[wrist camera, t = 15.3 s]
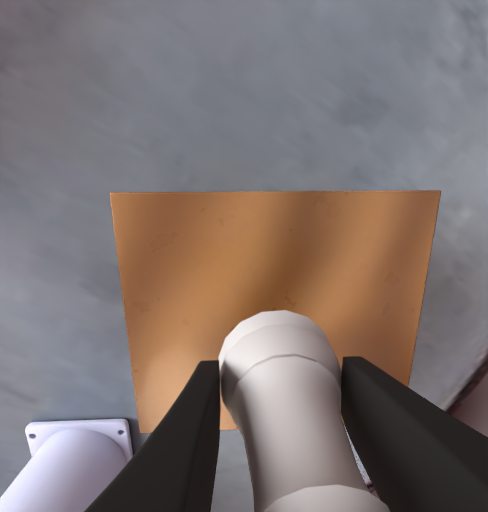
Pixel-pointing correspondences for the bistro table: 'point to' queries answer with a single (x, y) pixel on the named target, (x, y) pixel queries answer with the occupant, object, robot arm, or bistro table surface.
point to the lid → (267, 276)
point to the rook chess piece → (291, 416)
